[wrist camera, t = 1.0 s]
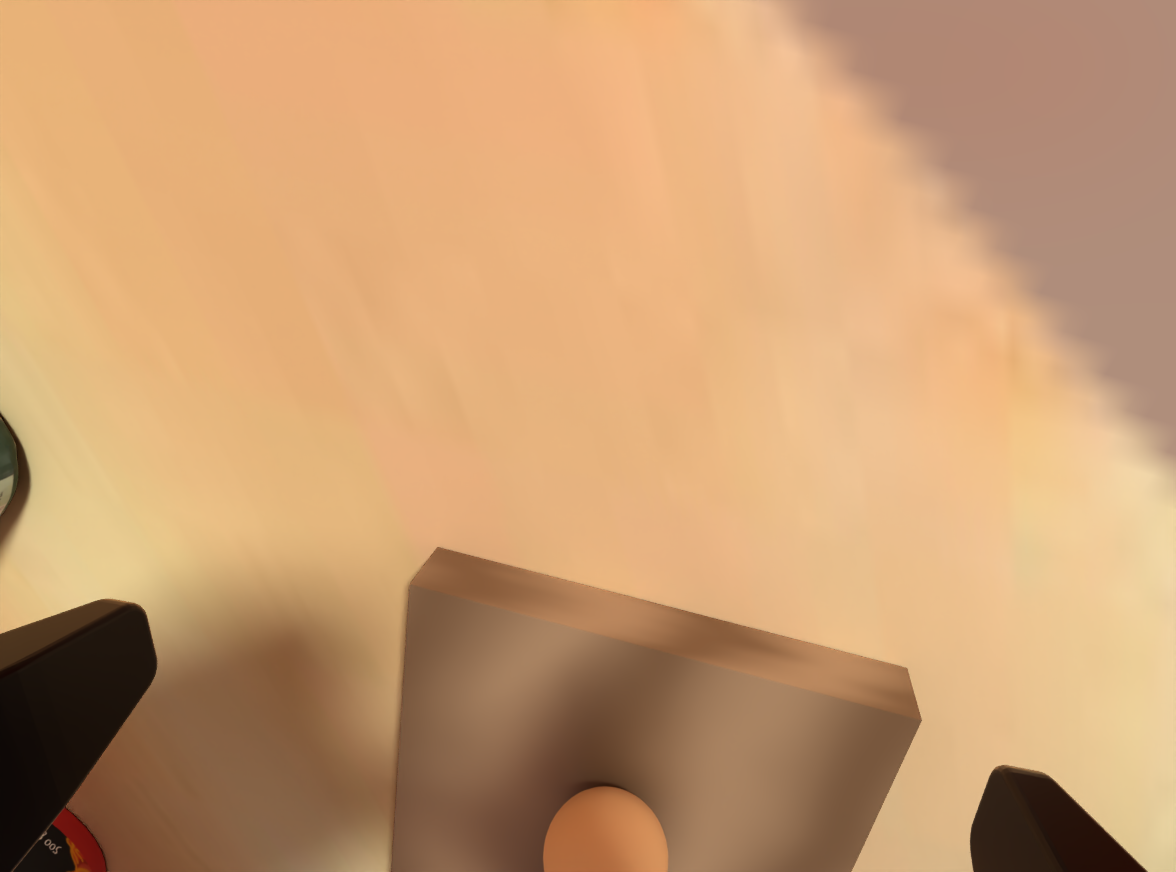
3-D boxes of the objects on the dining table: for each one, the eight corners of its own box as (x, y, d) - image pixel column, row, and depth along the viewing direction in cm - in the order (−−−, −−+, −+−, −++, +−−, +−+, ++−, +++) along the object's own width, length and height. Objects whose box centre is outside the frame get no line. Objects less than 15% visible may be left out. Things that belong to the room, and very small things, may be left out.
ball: (685, 778, 21) (673, 893, 18) (661, 858, 23) (646, 978, 19) (568, 745, 22) (536, 851, 18) (553, 825, 23) (520, 936, 20)
